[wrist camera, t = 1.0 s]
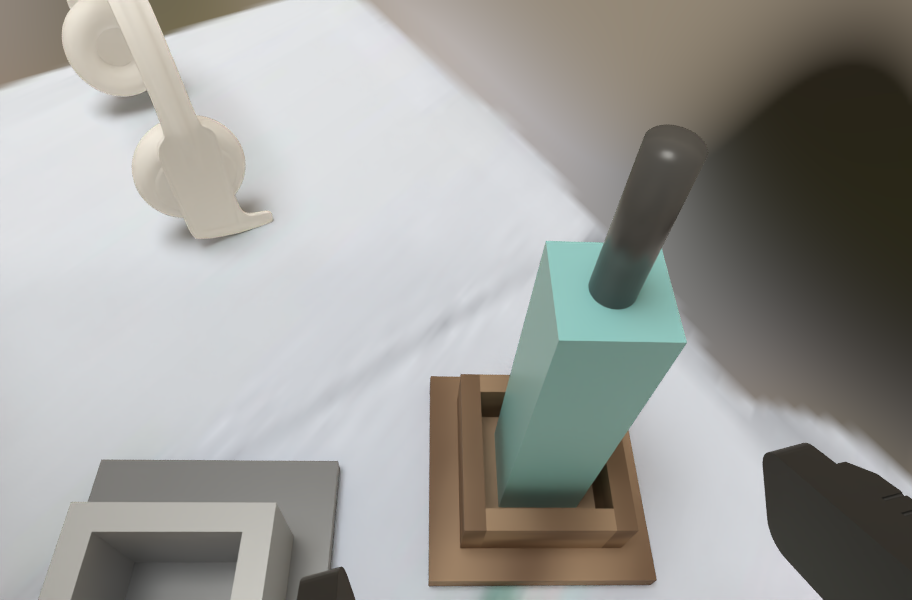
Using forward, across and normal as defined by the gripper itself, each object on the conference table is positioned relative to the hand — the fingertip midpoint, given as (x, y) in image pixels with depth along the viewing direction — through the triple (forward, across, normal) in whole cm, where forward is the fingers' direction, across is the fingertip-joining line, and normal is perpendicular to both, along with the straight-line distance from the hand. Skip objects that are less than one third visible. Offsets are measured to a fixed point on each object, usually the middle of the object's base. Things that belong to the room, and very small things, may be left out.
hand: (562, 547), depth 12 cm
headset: (+41, +17, -8) cm, 45 cm away
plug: (+19, -2, +11) cm, 22 cm away
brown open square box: (+20, -2, +12) cm, 23 cm away
